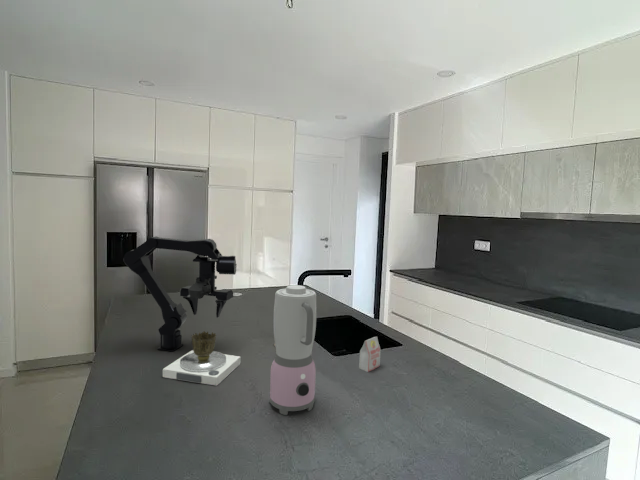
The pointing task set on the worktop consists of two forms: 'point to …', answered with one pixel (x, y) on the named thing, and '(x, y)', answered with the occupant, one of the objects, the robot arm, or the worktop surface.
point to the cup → (203, 345)
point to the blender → (293, 350)
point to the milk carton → (370, 355)
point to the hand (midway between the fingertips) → (206, 315)
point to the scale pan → (202, 362)
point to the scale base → (202, 377)
